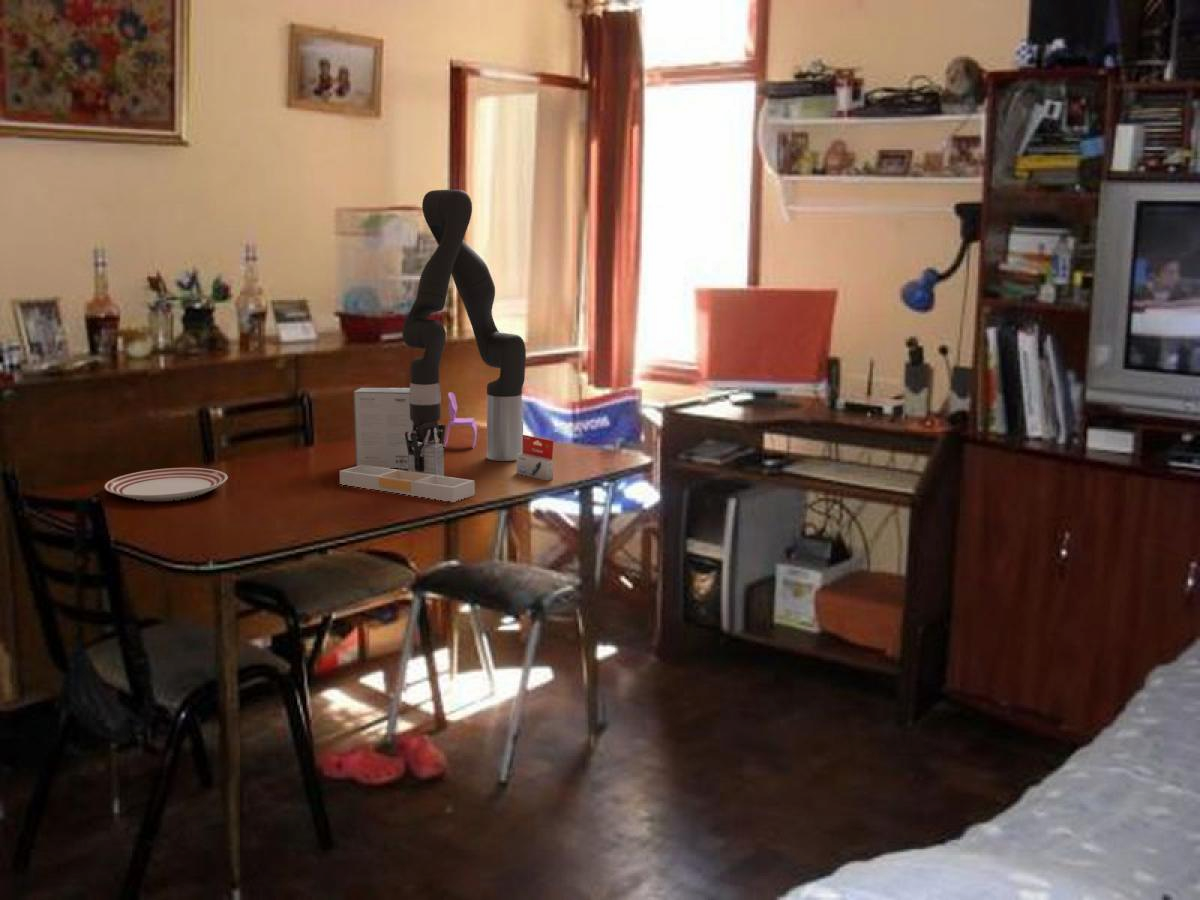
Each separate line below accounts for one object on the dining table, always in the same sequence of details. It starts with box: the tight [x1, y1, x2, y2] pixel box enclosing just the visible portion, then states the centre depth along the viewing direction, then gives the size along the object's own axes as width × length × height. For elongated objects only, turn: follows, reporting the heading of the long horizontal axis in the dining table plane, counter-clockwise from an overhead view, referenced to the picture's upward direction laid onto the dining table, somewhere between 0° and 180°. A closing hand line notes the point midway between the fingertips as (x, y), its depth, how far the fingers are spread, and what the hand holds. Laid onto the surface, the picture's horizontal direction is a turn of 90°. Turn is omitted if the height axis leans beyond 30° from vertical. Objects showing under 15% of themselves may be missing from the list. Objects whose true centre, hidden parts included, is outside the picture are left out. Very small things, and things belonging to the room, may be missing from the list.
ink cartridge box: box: [516, 434, 554, 481], centre depth 334 cm, size 2×11×10 cm, turn 47°
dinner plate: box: [104, 467, 229, 502], centre depth 313 cm, size 28×27×3 cm
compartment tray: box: [339, 465, 476, 503], centre depth 318 cm, size 9×33×4 cm, turn 61°
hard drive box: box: [352, 387, 414, 470], centre depth 342 cm, size 16×8×20 cm, turn 84°
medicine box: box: [407, 442, 445, 476], centre depth 329 cm, size 8×4×9 cm, turn 71°
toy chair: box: [443, 391, 478, 449], centre depth 369 cm, size 8×9×15 cm
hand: (426, 468), depth 330 cm, fingers closed on medicine box, 5 cm apart
